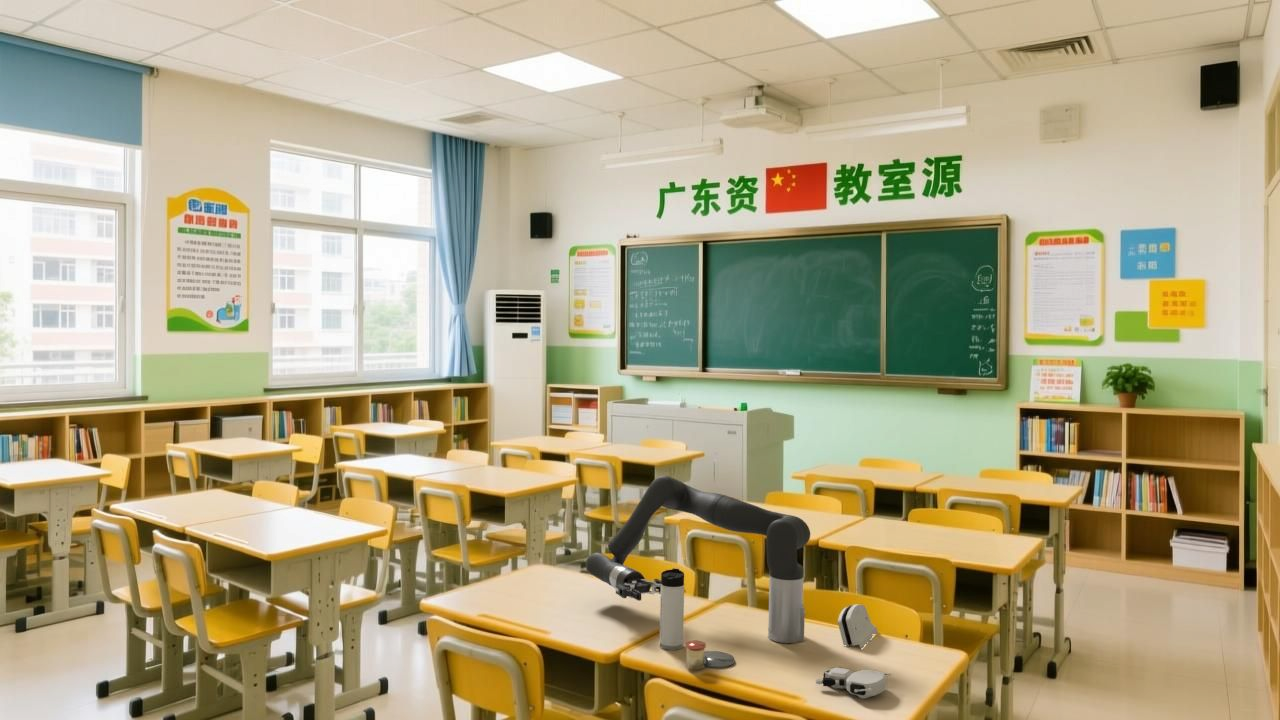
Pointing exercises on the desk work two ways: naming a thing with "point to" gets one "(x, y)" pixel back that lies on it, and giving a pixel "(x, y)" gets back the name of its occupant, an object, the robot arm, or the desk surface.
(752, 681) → the desk surface
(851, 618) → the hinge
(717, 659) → the grey base with jar
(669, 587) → the travel mug
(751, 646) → the desk surface
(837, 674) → the robot toy
